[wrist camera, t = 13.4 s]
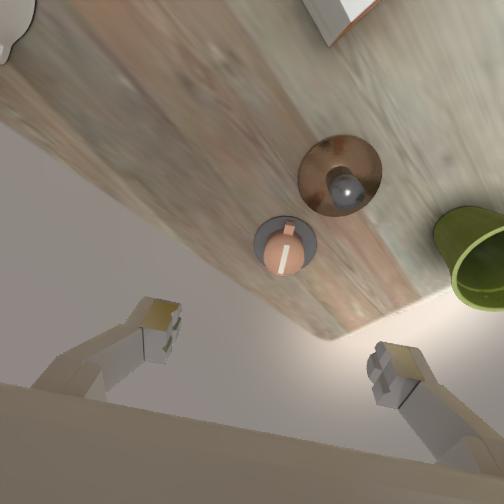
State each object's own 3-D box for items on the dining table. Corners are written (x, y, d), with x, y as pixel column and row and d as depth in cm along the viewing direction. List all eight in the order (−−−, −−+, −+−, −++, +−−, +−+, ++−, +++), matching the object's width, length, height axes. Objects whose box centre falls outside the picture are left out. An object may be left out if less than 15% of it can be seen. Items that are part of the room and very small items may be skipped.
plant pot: (526, 195, 37) (610, 232, 27) (478, 268, 43) (533, 319, 33) (437, 181, 37) (488, 212, 28) (401, 255, 43) (433, 302, 34)
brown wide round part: (290, 206, 42) (290, 229, 35) (309, 128, 36) (313, 136, 29) (363, 220, 41) (377, 245, 34) (393, 143, 36) (417, 155, 29)
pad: (250, 264, 48) (249, 266, 47) (259, 210, 43) (259, 211, 42) (307, 275, 47) (307, 277, 47) (324, 222, 42) (324, 224, 42)
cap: (270, 216, 42) (268, 228, 38) (309, 223, 42) (311, 236, 38) (261, 265, 47) (258, 280, 43) (296, 272, 47) (297, 287, 43)
